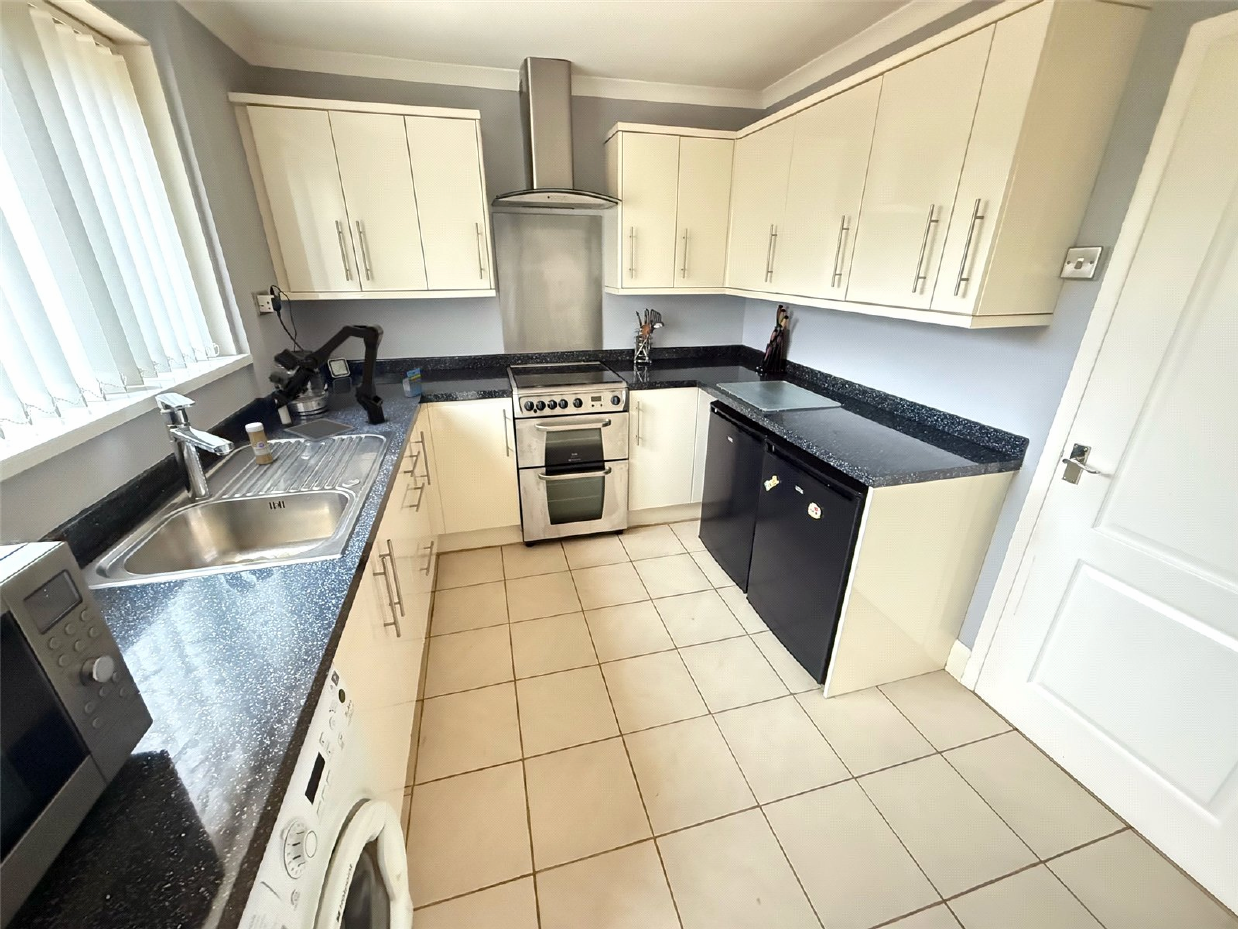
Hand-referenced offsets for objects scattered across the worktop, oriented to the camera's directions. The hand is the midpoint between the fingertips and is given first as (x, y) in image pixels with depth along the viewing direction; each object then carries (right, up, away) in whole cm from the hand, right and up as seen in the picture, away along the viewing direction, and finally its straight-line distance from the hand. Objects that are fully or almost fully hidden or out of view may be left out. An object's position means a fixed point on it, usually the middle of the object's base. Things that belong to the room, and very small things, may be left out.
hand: (278, 407), depth 194 cm
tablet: (+17, -9, -1) cm, 19 cm away
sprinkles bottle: (+16, -22, -29) cm, 40 cm away
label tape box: (+35, +11, +44) cm, 58 cm away
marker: (+1, -6, +3) cm, 7 cm away
